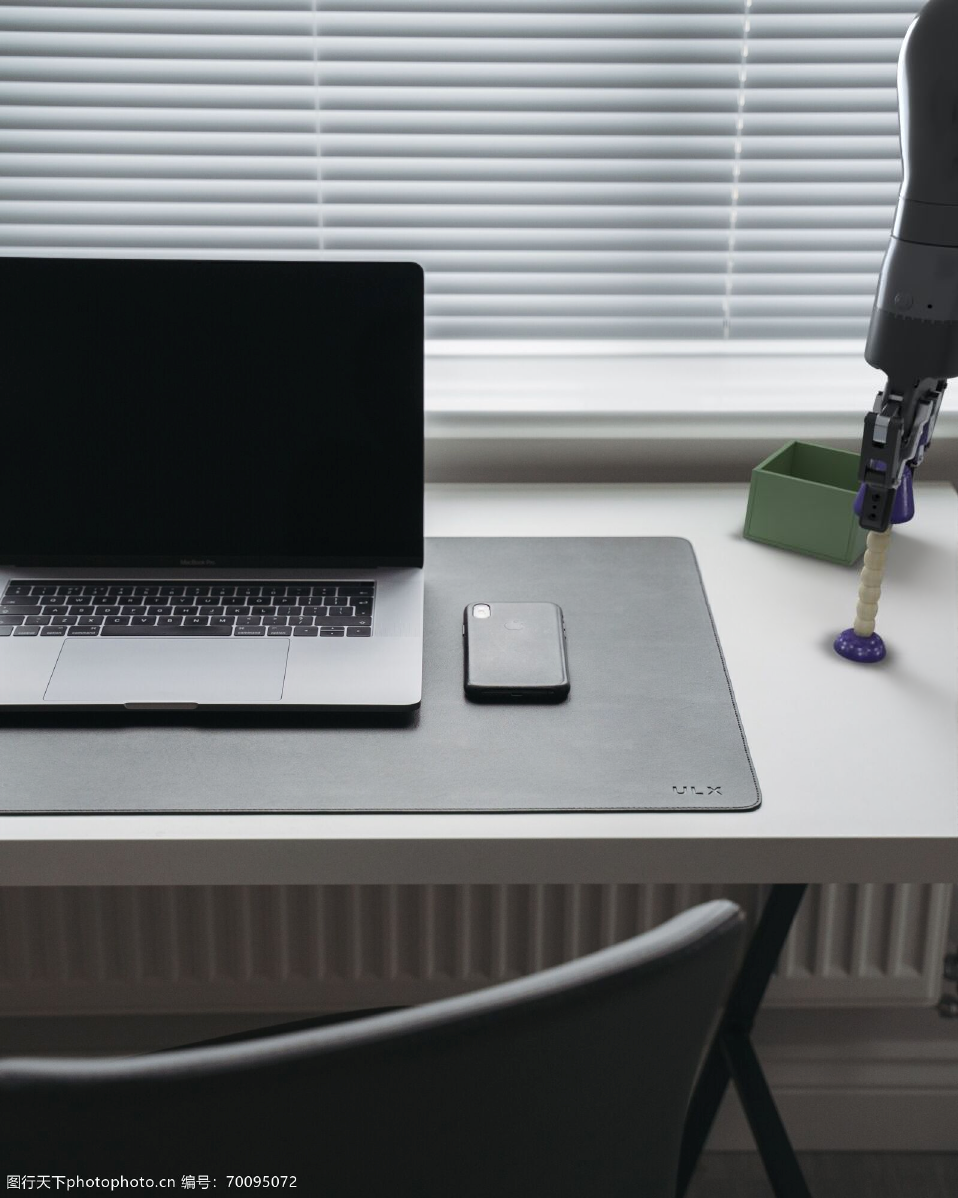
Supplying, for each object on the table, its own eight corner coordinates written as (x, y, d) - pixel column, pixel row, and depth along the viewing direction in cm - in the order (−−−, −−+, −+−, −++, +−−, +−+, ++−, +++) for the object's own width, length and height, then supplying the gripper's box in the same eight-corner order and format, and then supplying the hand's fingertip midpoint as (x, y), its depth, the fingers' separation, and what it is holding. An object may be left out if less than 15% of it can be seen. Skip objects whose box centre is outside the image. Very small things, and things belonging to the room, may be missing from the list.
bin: (883, 529, 116) (898, 461, 112) (849, 567, 108) (864, 496, 104) (781, 504, 121) (792, 438, 118) (742, 538, 113) (752, 469, 110)
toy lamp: (829, 661, 92) (866, 474, 84) (823, 633, 96) (857, 453, 88) (888, 667, 91) (931, 479, 84) (880, 639, 95) (920, 458, 88)
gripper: (958, 331, 73) (905, 562, 81) (1004, 293, 83) (954, 501, 91) (845, 313, 76) (806, 536, 85) (904, 279, 87) (863, 480, 95)
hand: (883, 517), depth 88 cm, fingers closed on toy lamp, 4 cm apart
